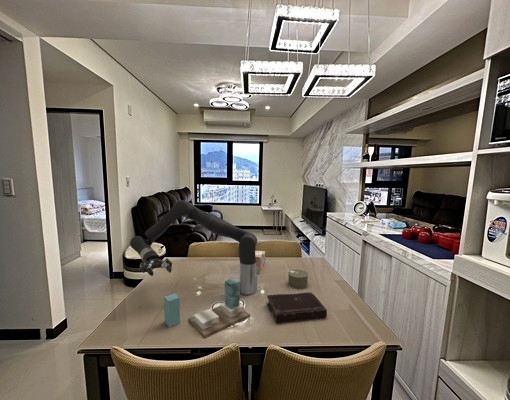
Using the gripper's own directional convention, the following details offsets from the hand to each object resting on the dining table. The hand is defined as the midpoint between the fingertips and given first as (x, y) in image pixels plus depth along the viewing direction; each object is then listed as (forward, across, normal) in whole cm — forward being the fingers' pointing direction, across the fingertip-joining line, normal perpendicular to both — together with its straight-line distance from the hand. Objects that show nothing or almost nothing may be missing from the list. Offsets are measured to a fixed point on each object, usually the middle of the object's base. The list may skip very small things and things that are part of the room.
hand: (161, 272), depth 118 cm
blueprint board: (+26, +19, +14) cm, 35 cm away
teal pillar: (+15, +1, +17) cm, 23 cm away
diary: (+43, +52, +8) cm, 68 cm away
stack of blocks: (-8, +75, +16) cm, 77 cm away
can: (+26, +76, +10) cm, 81 cm away
